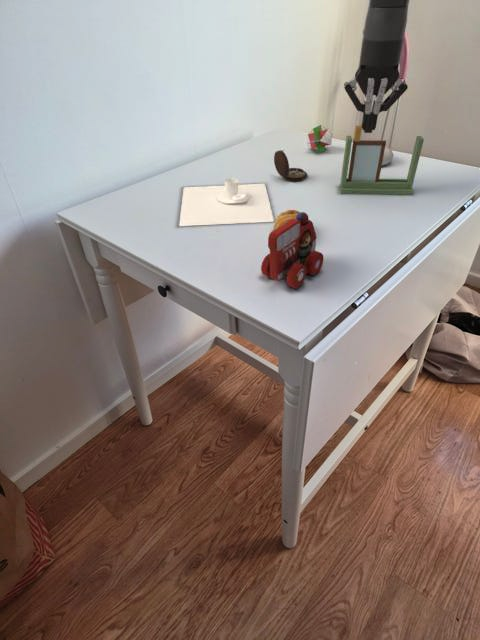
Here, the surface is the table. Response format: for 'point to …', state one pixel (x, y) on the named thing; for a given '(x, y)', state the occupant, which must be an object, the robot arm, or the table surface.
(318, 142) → the geometric puzzle
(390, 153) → the donut
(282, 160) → the compass
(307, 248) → the toy fire truck
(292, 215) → the pastry
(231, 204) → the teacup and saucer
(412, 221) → the table surface
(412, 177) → the window frame
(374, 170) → the sash
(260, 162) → the table surface
